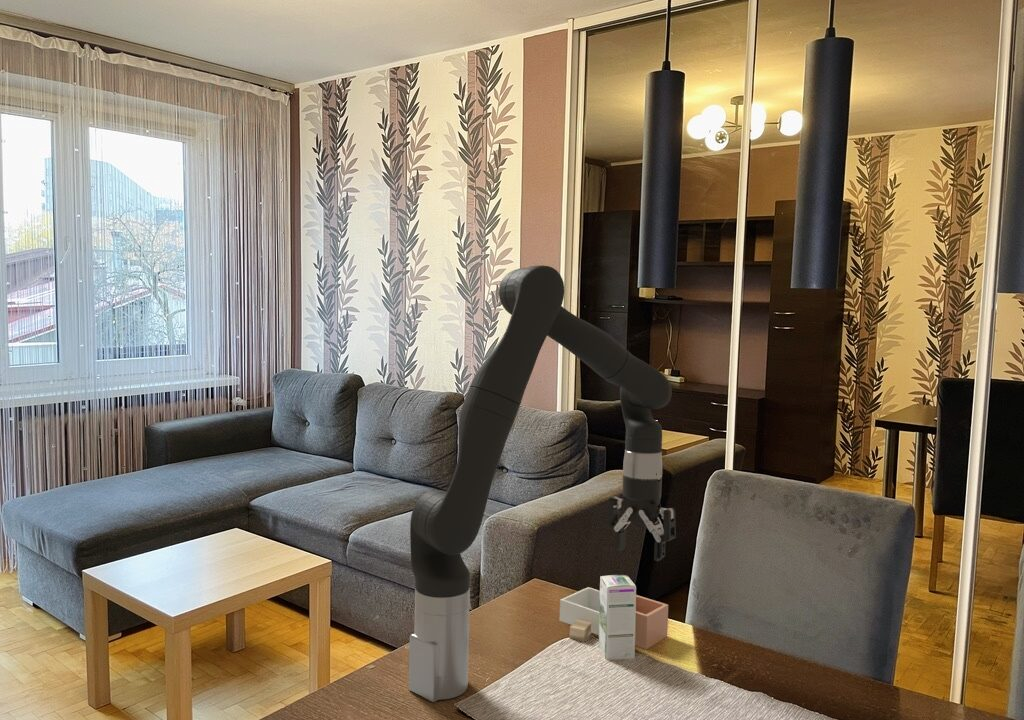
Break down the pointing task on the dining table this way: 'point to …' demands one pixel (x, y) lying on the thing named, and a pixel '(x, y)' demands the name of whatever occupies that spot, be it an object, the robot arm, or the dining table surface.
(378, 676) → the dining table surface
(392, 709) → the dining table surface
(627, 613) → the syrup box
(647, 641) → the open box
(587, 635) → the beech block
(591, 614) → the bin
